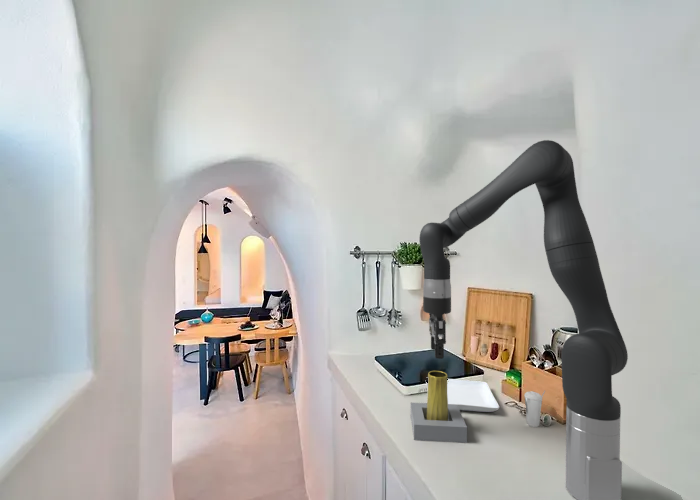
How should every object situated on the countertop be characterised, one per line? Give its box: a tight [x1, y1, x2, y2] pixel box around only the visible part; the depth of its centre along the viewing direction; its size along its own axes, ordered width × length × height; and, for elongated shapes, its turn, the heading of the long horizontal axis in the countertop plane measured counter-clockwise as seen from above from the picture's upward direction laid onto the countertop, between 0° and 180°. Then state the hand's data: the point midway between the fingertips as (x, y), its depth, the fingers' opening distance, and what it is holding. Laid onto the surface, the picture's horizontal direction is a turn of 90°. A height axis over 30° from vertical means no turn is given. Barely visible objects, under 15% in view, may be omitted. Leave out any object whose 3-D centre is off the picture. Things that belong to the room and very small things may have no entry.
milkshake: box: [524, 390, 546, 428], centre depth 104 cm, size 4×5×10 cm
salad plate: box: [425, 378, 500, 413], centre depth 121 cm, size 21×21×3 cm
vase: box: [426, 370, 448, 421], centre depth 102 cm, size 6×6×14 cm
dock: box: [410, 402, 468, 444], centre depth 102 cm, size 14×14×4 cm
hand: (437, 353), depth 102 cm, fingers open, 8 cm apart
